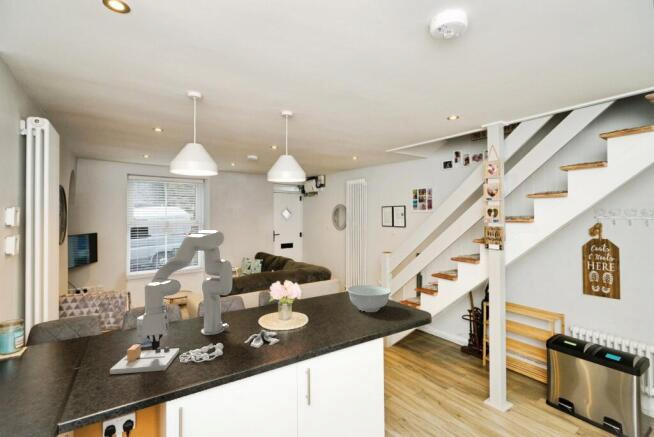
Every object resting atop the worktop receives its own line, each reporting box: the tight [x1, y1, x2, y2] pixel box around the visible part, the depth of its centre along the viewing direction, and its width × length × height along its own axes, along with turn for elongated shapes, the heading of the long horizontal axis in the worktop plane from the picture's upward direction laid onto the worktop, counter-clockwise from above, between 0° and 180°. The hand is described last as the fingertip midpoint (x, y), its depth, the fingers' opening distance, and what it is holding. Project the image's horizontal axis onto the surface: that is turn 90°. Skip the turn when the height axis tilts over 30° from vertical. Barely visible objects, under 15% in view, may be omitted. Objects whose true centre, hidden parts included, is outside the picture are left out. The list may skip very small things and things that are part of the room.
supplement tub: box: [135, 314, 156, 348], centre depth 158 cm, size 10×10×15 cm
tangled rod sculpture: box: [178, 342, 224, 364], centre depth 143 cm, size 19×14×4 cm
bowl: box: [346, 284, 392, 313], centre depth 220 cm, size 32×32×15 cm
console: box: [109, 346, 180, 375], centre depth 138 cm, size 22×18×4 cm
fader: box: [126, 344, 142, 361], centre depth 137 cm, size 3×6×5 cm, turn 9°
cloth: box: [244, 329, 280, 349], centre depth 163 cm, size 22×19×6 cm
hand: (155, 348), depth 139 cm, fingers closed
